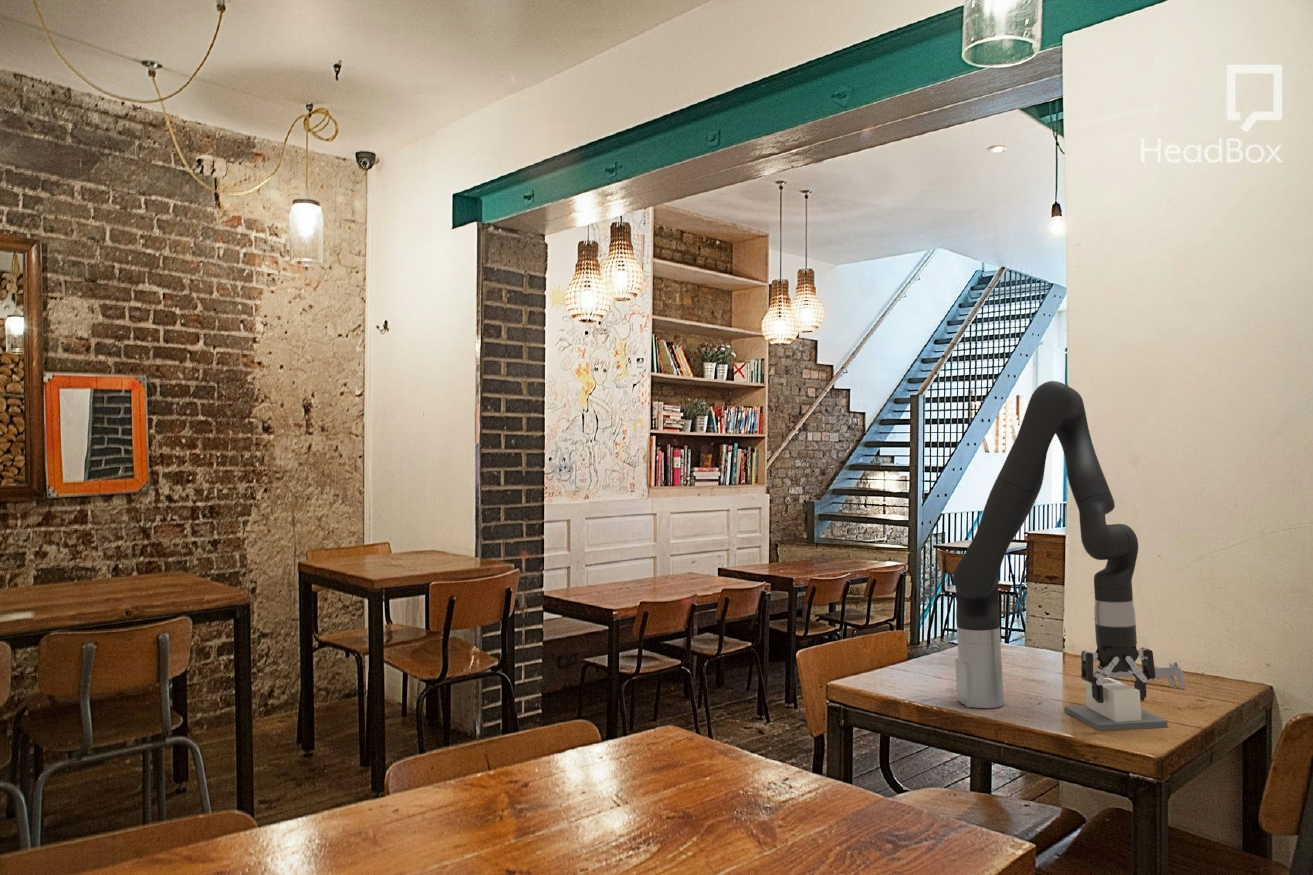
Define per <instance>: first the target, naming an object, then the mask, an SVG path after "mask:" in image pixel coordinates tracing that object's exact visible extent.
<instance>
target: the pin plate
mask: <svg viewBox="0 0 1313 875" xmlns="http://www.w3.org/2000/svg"><path fill="white" fill-rule="evenodd" d="M1064 713H1066V714H1068V715H1069V716H1072V717H1073V718H1075V719H1076V720H1078V721H1080V722H1082V723H1084V724H1086V725H1087V726H1090V727H1091V728H1093V729H1095V730H1097V731H1098V732H1107V731H1109V732H1110V731H1125V730H1140V729H1141V730H1143V729H1157V728H1168V720H1166V719H1163V718H1162V717H1160V716H1157V715H1155V714H1153V713H1151V712H1149V711H1147V710H1144V709H1142V708H1141V720H1138V721H1122V722H1115V721H1113V720H1111V719H1109V718H1107V717H1105V716H1103V715H1101V714H1099V713H1097V712H1095V711H1093V710H1091V709H1089V708H1087V704H1085V705H1084V704H1083V705H1068V706H1067V705H1065V706H1064Z"/></svg>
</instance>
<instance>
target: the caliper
mask: <svg viewBox="0 0 1313 875" xmlns="http://www.w3.org/2000/svg"><path fill="white" fill-rule="evenodd" d="M1168 665H1169V666H1158V667H1155V666H1154V667H1155V678H1154V679H1151V680H1153V681H1154V680H1161V679H1164V678H1165V679H1166V680H1167V683H1168V684H1169V685H1170V687H1171V688H1172V687H1176V688H1177V686H1176V685H1177V684H1176V681H1175V678H1174V676H1176V679H1177V682H1178V685H1179V689H1180V690H1183V689H1184V688H1185V676H1184V675H1185V674H1184V672H1183V670H1182V667H1181V666H1178V662H1177V661H1175V662H1173V663H1172V662H1169V663H1168ZM1141 672H1142V673H1143V669H1141ZM1108 677H1117V678H1134V676H1133V675H1132V674H1131V673H1130V672H1129V671H1128V672H1122V671H1120V672H1117V673H1113V672H1111V673H1110V674H1109V676H1108Z"/></svg>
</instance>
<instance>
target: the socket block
mask: <svg viewBox="0 0 1313 875" xmlns="http://www.w3.org/2000/svg"><path fill="white" fill-rule="evenodd" d="M1084 681H1085V696H1086V699H1085V700H1086V705H1087V708H1089V709H1091V710H1093V711H1095V712H1097V713H1099V714H1101V715H1103V716H1105V717H1107V718H1109V719H1111V720H1113V721H1115V722H1122V721H1138V720H1141V709H1142V706H1141V701H1140V690H1138V689H1135V687H1134V686H1130V685H1128V684H1126V683H1125V682H1121V681H1119V680H1117V679H1115V678H1105V679H1104V681H1103V682H1102V684H1101V685H1103V698H1104V702H1103V703H1098V702H1096V701H1095V699H1093V697H1092V684H1091V682H1088V681H1086V680H1084Z"/></svg>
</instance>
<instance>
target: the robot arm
mask: <svg viewBox="0 0 1313 875" xmlns="http://www.w3.org/2000/svg"><path fill="white" fill-rule="evenodd" d="M1026 406H1027V407H1026V410H1025V412H1024V416H1023V419H1022V421H1021V424H1020V428H1019V430H1018V433H1017V436H1016V437H1015V440H1014V442H1013V444H1012V446H1011V448H1010V450H1009V452H1008V455H1007V456H1006V458H1005V461H1004V463H1003V466H1001V469H1000V471H999V473H998V475H997V477H996V479H995V481H994V483H993V486H992V488H991V490H990V492H989V494H988V498H987V499H986V502H985V505H984V508H983V510H982V514H981V517H980V521H979V523H978V527H977V530H976V532H975V535H974V536H973V539H972V541H971V542H970V544H969V545H968V547H967V549H966V551H965V552H964V554H963V556H962V557H961V558H960V559H959V561H958V563H957V564H956V565H955V567H954V569H953V572H952V580H953V581H952V582H953V584H954V587H955V596H956V597H955V598H956V606H955V608H956V610H955V611H956V612H955V618H956V620H955V622H956V638H957V639H956V640H957V653H958V654H957V657H958V658H955V659H954V660H955V661H954V662H955V675H956V676H955V677H956V678H955V680H956V694H957V695H956V697H957V702H959V703H960V704H962V705H963V704H964V706H965V707H966V708H977V709H993V708H1001V707H1002V706H1004V705H1005V698H1004V697H1005V693H1004V680H1003V679H1004V677H1003V664H1002V663H1003V660H1002V659H1003V658H1002V646H1001V645H1002V644H1001V643H1002V642H1001V624H1000V595H999V594H1000V593H999V572H1000V569H1001V567H1002V564H1003V561H1004V558H1005V555H1006V553H1007V551H1008V550H1009V547H1010V546H1011V543H1012V541H1013V540H1014V539H1015V537H1016V536H1017V534H1018V533H1019V531H1020V529H1021V528H1022V526H1023V524H1024V523H1025V521H1026V520H1027V517H1028V515H1029V514H1030V512H1031V511H1032V509H1033V506H1034V504H1035V502H1036V500H1037V498H1038V496H1039V494H1040V492H1041V488H1042V486H1043V482H1044V477H1045V469H1046V462H1047V461H1046V460H1047V455H1048V450H1049V447H1050V445H1051V443H1052V441H1053V439H1054V437H1055V435H1056V436H1057V438H1058V441H1059V444H1060V445H1061V448H1062V451H1063V456H1064V460H1065V467H1066V475H1067V479H1068V484H1069V488H1070V490H1071V493H1072V496H1073V499H1074V501H1075V504H1076V507H1077V509H1078V514H1079V515H1078V516H1079V527H1080V530H1079V531H1080V538H1081V539H1080V540H1081V542H1082V546H1083V548H1084V550H1085V551H1086V553H1087V554H1088V555H1089V556H1090V557H1092V558H1093V559H1095V560H1096V561H1097V560H1098V561H1105V560H1107V562H1106V565H1105V567H1104V568H1103V569H1101V570H1099V571H1097V572H1096V573H1095V574H1094V576H1093V588H1094V589H1093V590H1094V608H1093V609H1094V610H1093V611H1094V617H1093V618H1094V619H1093V620H1094V628H1095V629H1094V630H1095V643H1096V649H1095V650H1096V651H1087V650H1083V651H1081V658H1080V659H1081V661H1080V662H1081V669H1080V670H1081V671H1080V672H1081V674H1080V675H1081V676H1080V677H1081V679H1082V680H1083V681H1085V680H1086V681H1088V682H1091V684H1092V697H1093V699H1095V701H1096V702H1098V703H1103V702H1104V698H1103V685H1101V684H1102V682H1103V681H1104V679H1105V678H1106V677H1108V676H1109V674H1110V673H1111V672H1113V673H1117V672H1120V671H1122V672H1128V671H1129V672H1130V673H1131V674H1132V675H1133V676H1134V677H1133V678H1134V679H1135V680H1134V681H1133V682H1134V683H1133V684H1134V686H1133V688H1135V689H1138V690H1140V702H1144V701H1145V698H1147V681H1149V680H1152V679H1154V678H1155V661H1154V659H1155V658H1154V653H1153V650H1152V649H1149V648H1145V647H1141V648H1140V649H1137V644H1138V641H1137V625H1136V610H1135V606H1134V599H1133V598H1134V597H1133V596H1134V595H1133V576H1134V572H1135V568H1136V562H1137V558H1138V553H1139V541H1138V537H1137V535H1136V534H1137V533H1136V532H1135V531H1134V529H1132V527H1131V526H1129V525H1128V524H1123V523H1113V524H1107V521H1106V515H1107V514H1110V513H1111V512H1113V510H1114V509H1115V499H1114V498H1113V495H1112V492H1111V489H1110V487H1109V485H1108V482H1107V479H1106V477H1105V474H1104V472H1103V469H1102V466H1101V464H1100V462H1099V461H1100V460H1098V456H1097V453H1096V451H1095V448H1094V445H1093V441H1092V437H1091V433H1090V429H1089V425H1088V424H1089V423H1088V419H1087V413H1086V409H1085V404H1084V400H1083V397H1082V395H1081V394H1080V393H1079V392H1078V391H1077V390H1075V389H1074V388H1072V387H1070V386H1068V385H1067V384H1064V383H1063V382H1060V381H1056V380H1050V381H1046V382H1043V383H1042V384H1040V385H1039V386H1038V387H1037V388H1036V389H1035V390H1034V391H1033V393H1032V394H1031V397H1030V398H1029V400H1028V403H1027V405H1026ZM1138 658H1139V659H1140V661H1141V668H1142V669H1141V668H1140V667H1139V666H1138V665H1137V663H1136V661H1137V659H1138ZM1096 659H1097V661H1098V663H1097V665H1096V666H1095V668H1094V663H1095V662H1096ZM1141 670H1143V673H1142V672H1141ZM1154 680H1155V679H1154Z"/></svg>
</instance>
